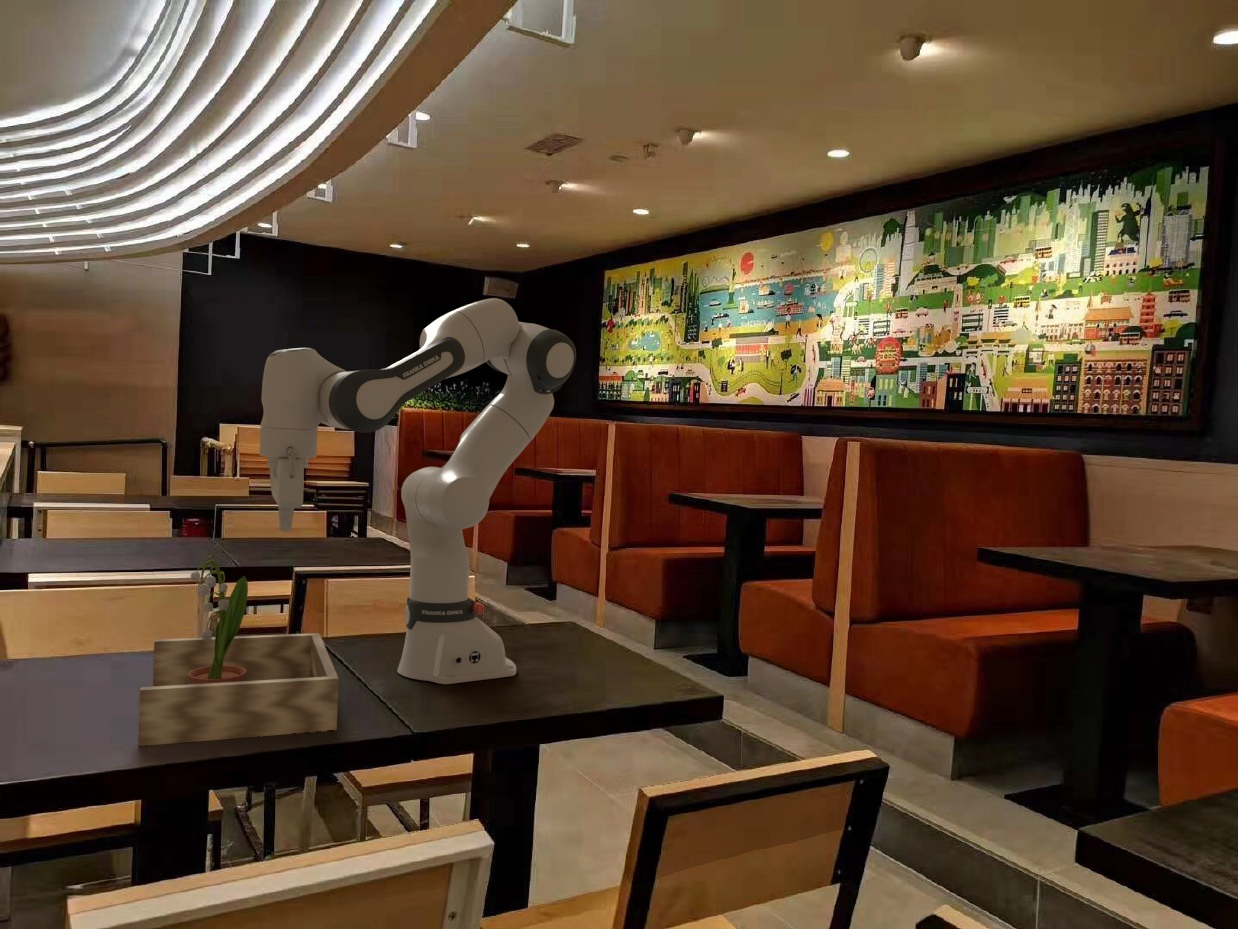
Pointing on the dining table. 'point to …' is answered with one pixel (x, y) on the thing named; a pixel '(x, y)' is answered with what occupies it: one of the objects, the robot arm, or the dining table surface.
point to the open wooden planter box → (239, 690)
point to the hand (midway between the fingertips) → (285, 530)
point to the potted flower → (221, 627)
